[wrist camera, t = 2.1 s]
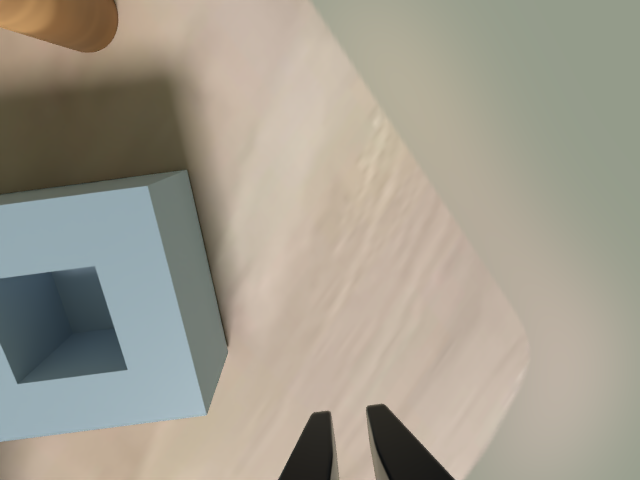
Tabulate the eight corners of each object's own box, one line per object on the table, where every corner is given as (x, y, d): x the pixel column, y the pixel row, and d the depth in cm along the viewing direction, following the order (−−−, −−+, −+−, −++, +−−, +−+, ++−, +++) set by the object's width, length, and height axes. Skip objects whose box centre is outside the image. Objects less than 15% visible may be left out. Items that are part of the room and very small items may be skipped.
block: (228, 352, 21) (206, 415, 17) (47, 375, 21) (-23, 444, 17) (187, 169, 18) (147, 185, 14) (-22, 197, 19) (-130, 222, 14)
